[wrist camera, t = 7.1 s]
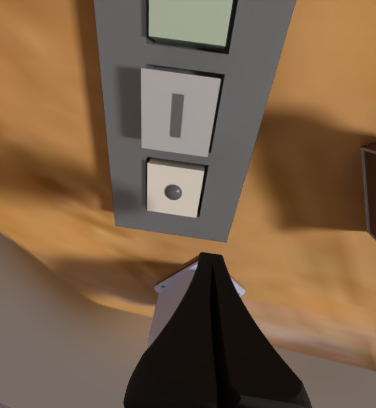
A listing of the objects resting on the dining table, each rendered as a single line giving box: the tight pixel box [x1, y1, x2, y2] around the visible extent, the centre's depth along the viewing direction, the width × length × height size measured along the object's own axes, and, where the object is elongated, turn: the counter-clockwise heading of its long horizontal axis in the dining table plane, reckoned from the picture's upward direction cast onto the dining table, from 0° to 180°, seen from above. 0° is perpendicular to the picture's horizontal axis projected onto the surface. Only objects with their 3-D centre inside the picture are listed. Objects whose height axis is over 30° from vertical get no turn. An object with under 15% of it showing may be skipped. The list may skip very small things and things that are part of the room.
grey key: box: [141, 68, 221, 157], centre depth 13 cm, size 4×4×2 cm
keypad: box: [94, 0, 296, 243], centre depth 15 cm, size 22×11×2 cm, turn 174°
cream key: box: [147, 157, 205, 218], centre depth 17 cm, size 4×4×2 cm
